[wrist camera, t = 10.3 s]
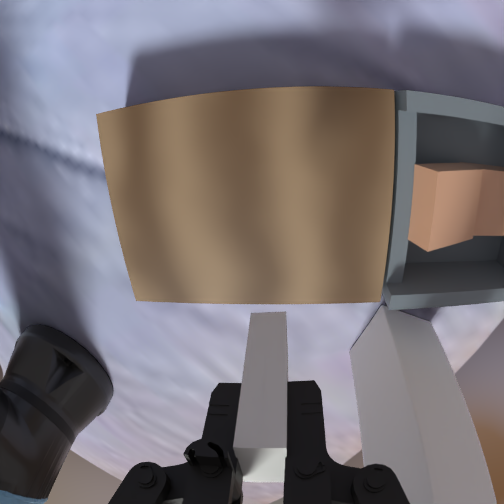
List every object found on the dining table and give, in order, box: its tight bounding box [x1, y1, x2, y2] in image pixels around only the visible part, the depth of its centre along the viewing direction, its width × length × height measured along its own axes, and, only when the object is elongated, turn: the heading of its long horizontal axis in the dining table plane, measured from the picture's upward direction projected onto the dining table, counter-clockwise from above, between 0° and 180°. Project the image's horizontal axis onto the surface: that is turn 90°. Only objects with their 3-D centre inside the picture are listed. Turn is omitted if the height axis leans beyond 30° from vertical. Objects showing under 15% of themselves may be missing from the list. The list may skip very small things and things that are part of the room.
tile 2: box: [408, 163, 483, 252], centre depth 18 cm, size 5×5×2 cm
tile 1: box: [460, 162, 504, 236], centre depth 19 cm, size 5×5×2 cm
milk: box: [349, 305, 497, 504], centre depth 18 cm, size 6×6×22 cm
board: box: [96, 86, 395, 304], centre depth 21 cm, size 18×14×4 cm
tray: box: [382, 90, 504, 310], centre depth 19 cm, size 13×14×5 cm
